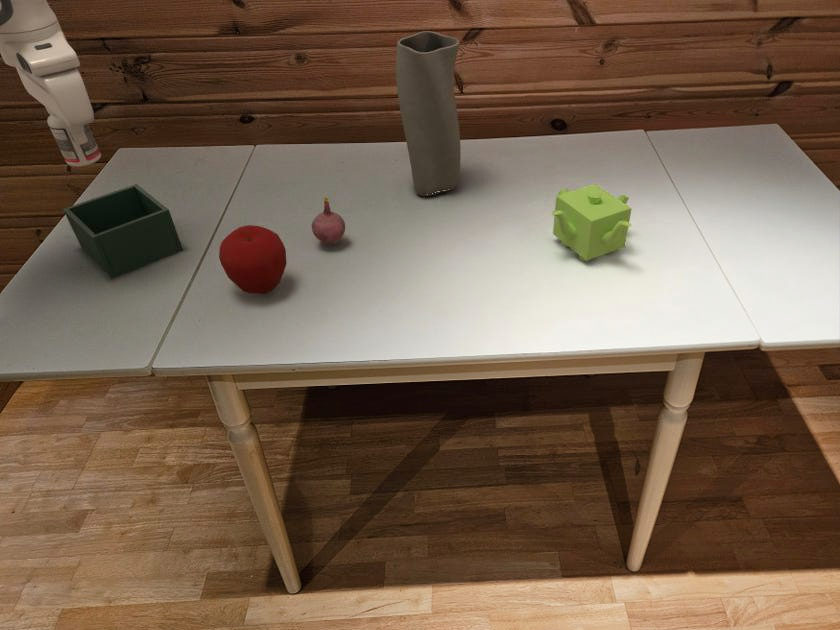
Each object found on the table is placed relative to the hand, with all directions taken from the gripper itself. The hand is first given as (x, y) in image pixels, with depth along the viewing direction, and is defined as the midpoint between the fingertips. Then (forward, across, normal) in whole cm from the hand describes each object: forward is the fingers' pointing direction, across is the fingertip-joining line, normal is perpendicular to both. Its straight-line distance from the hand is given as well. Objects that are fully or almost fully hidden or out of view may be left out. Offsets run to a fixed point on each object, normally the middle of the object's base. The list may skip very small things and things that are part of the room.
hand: (73, 136), depth 105 cm
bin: (+24, -3, +2) cm, 24 cm away
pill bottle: (+4, 0, 0) cm, 4 cm away
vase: (+25, +19, +59) cm, 67 cm away
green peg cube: (+25, +57, +64) cm, 89 cm away
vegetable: (+24, +22, +30) cm, 45 cm away
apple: (+24, +25, +13) cm, 37 cm away
